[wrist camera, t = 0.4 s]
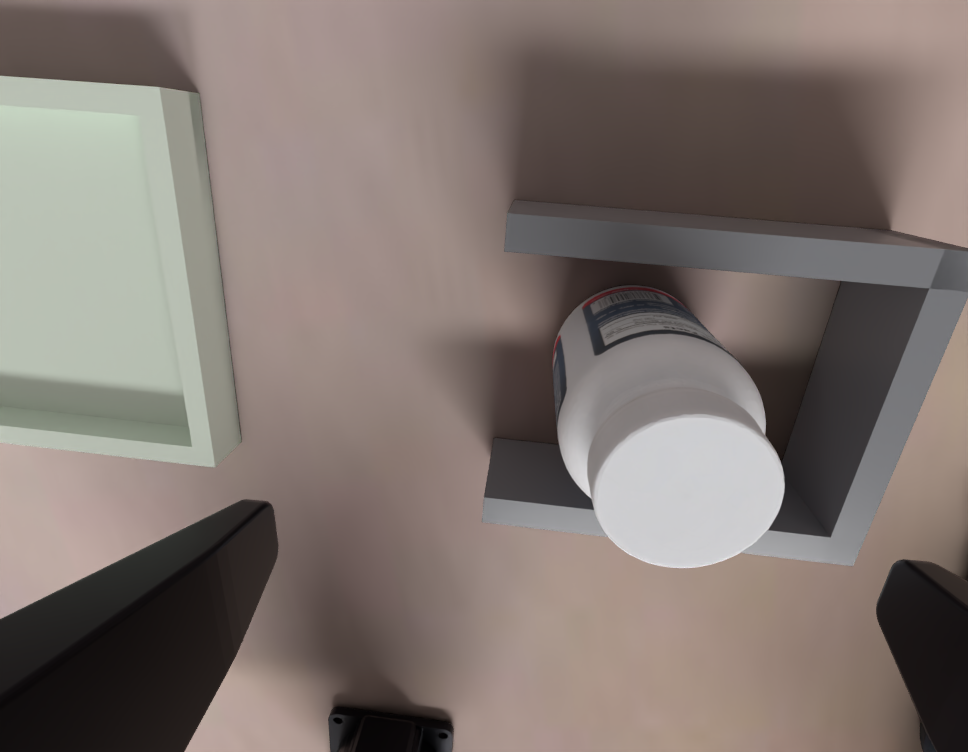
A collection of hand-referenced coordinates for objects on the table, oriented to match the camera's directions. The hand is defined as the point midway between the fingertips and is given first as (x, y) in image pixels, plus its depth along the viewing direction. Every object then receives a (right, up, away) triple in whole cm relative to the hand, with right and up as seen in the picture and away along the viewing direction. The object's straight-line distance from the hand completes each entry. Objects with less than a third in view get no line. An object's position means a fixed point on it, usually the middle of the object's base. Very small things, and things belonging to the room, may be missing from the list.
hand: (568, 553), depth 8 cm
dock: (+5, +3, +12) cm, 13 cm away
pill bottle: (+4, +3, +12) cm, 13 cm away
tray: (-17, +6, +13) cm, 22 cm away
